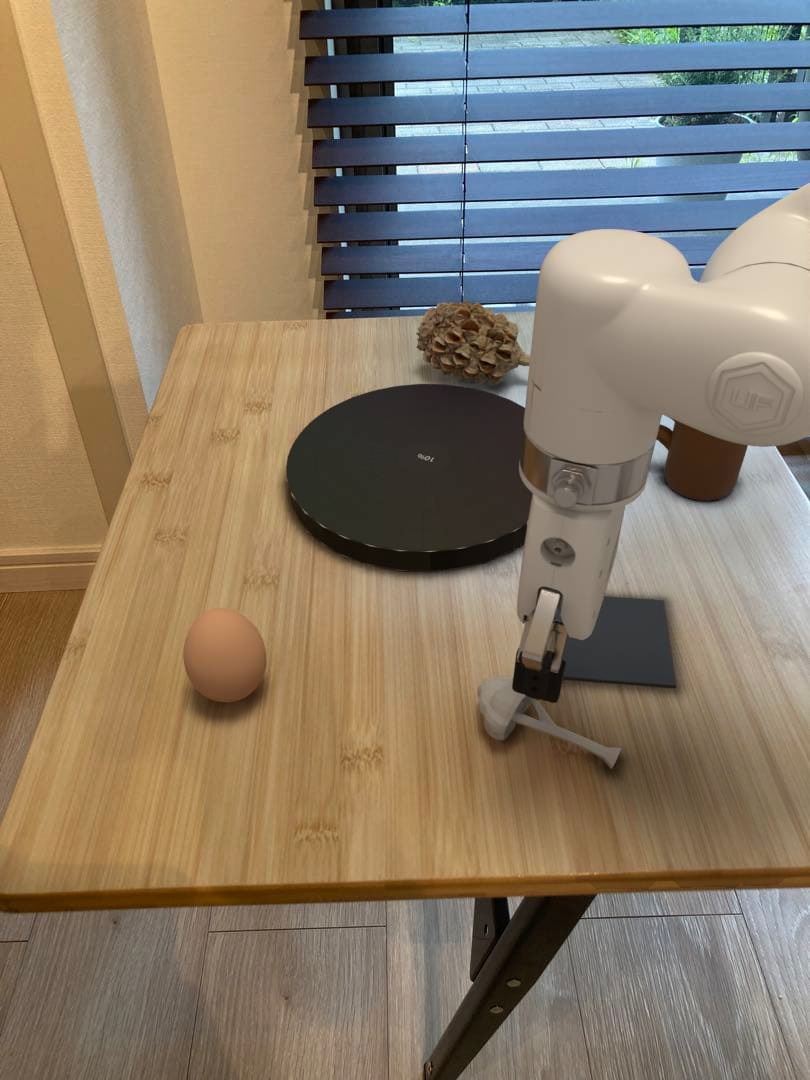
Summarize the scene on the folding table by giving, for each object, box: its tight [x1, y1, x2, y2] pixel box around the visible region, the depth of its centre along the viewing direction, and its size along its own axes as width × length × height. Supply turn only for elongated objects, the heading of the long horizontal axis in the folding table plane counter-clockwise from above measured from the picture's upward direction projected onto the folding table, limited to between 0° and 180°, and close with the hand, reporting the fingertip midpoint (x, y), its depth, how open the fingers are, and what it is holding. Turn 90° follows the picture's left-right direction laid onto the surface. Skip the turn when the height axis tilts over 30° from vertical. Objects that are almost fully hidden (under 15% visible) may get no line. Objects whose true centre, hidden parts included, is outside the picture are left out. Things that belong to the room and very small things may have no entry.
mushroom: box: [476, 675, 622, 770], centre depth 67 cm, size 7×5×12 cm
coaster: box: [555, 595, 677, 688], centre depth 75 cm, size 10×10×1 cm
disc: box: [285, 383, 533, 572], centre depth 92 cm, size 30×30×3 cm
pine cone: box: [415, 300, 530, 386], centre depth 104 cm, size 22×10×10 cm, turn 74°
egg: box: [182, 607, 268, 703], centre depth 69 cm, size 7×7×9 cm
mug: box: [656, 418, 749, 501], centre depth 90 cm, size 12×8×9 cm, turn 63°
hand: (553, 643), depth 61 cm, fingers open, 9 cm apart
